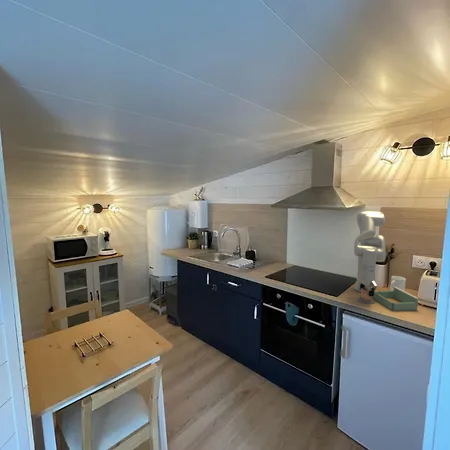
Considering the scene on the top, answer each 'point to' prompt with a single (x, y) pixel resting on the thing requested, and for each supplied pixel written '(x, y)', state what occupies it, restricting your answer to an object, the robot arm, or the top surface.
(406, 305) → the tray
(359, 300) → the slate pad
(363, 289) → the pot
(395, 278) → the mug
